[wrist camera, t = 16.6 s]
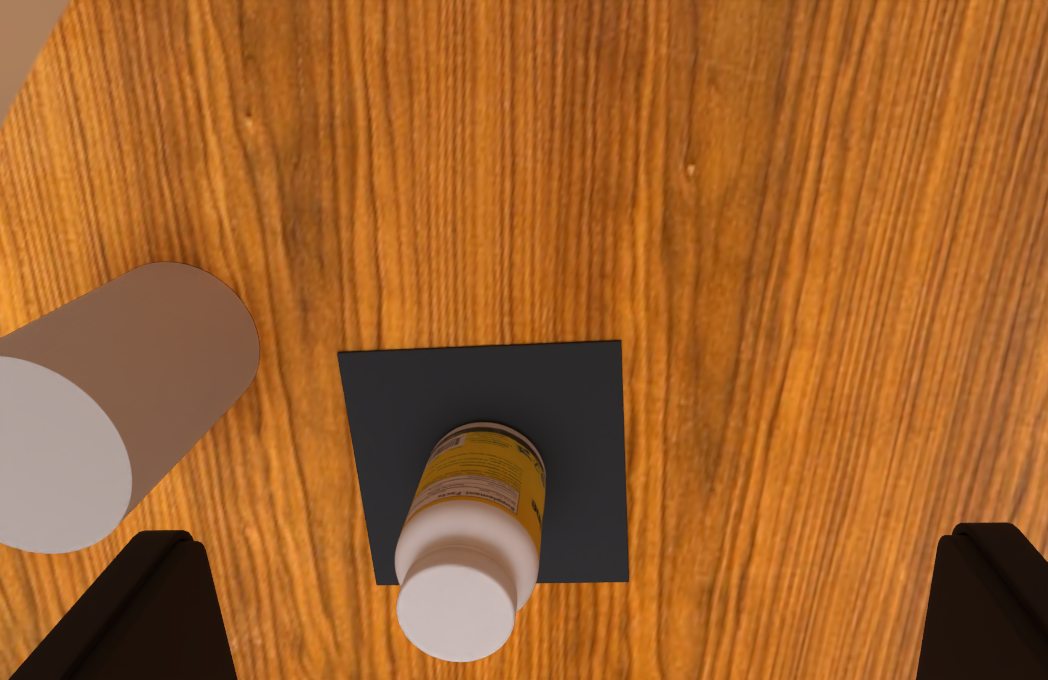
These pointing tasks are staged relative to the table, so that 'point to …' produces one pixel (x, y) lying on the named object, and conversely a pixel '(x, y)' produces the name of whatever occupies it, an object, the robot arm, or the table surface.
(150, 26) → the table surface
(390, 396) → the mat
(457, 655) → the pill bottle
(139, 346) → the grey upright cylinder
